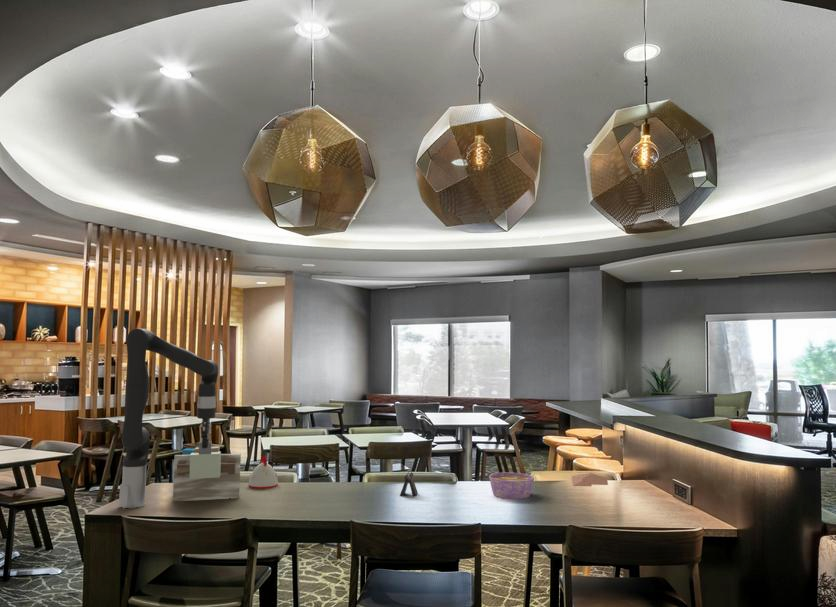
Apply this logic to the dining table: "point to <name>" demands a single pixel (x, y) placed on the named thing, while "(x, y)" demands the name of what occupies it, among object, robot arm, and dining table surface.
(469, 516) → the dining table surface
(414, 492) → the dark grey angled piece
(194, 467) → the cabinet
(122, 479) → the robot arm
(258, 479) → the kitchen timer
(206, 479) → the grey brown rectangular box
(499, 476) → the bowl of food
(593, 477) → the house
